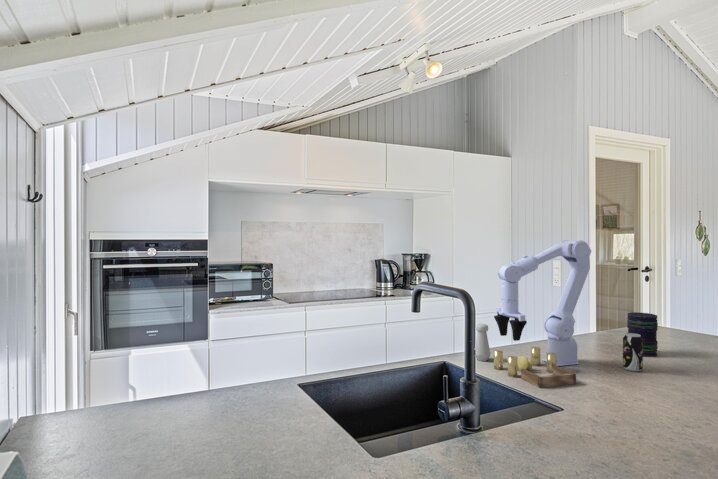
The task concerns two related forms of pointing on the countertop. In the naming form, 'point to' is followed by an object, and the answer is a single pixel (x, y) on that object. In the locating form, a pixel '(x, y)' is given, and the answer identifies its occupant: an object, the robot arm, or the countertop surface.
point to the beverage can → (632, 352)
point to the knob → (524, 363)
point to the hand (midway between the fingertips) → (509, 337)
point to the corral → (550, 378)
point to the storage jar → (644, 331)
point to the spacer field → (513, 361)
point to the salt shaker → (482, 343)
